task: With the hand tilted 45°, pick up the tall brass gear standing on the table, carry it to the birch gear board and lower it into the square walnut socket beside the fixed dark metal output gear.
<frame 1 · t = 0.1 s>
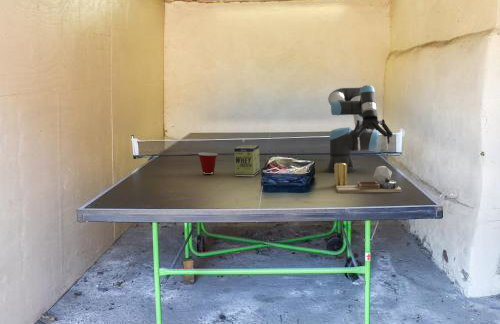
hand: (373, 149, 266), 15 cm above the table, tool tilted 35°, fingers open, 13 cm apart
output gear: (387, 189, 245), resting on gear board
protein box: (247, 174, 295), on the table
gear board: (368, 190, 246), on the table
brass gear: (340, 186, 256), on the table
pale rock: (382, 182, 263), on the table
plastic cup: (208, 174, 300), on the table
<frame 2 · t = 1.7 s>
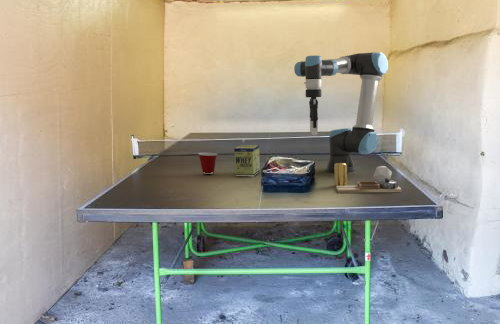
hand: (313, 133, 258), 25 cm above the table, tool pointing down, fingers open, 13 cm apart
nothing on the table moved.
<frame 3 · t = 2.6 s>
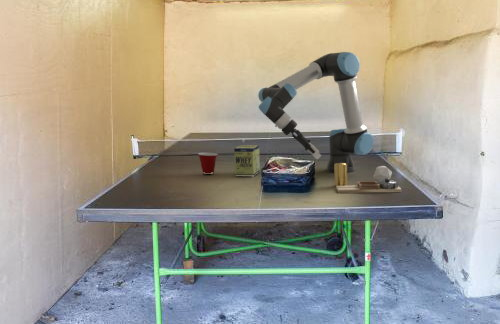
hand: (318, 155, 255), 15 cm above the table, tool tilted 45°, fingers open, 13 cm apart
nothing on the table moved.
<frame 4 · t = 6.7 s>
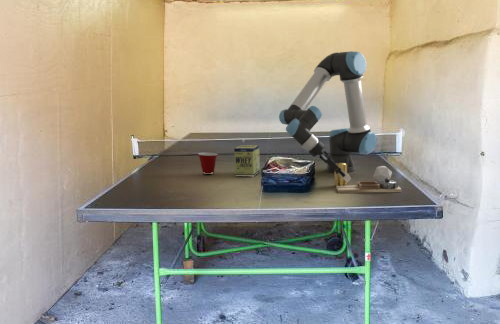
hand: (348, 179, 255), 3 cm above the table, tool tilted 45°, fingers closed on brass gear, 6 cm apart
brass gear: (340, 186, 256), on the table, touching gripper
everything else where it was.
when the fingers open (7 cm above the table, at t = 10.8 s): brass gear drops 2 cm, resting on gear board.
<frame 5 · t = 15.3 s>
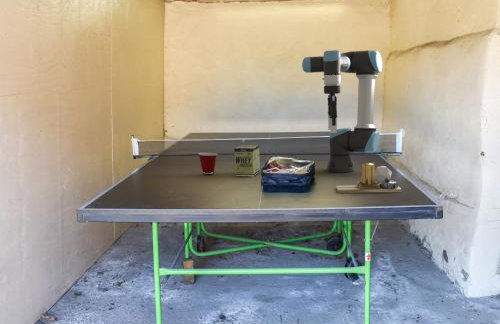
hand: (332, 131, 249), 27 cm above the table, tool pointing down, fingers open, 13 cm apart
brass gear: (368, 187, 246), point 1 cm above the table, touching gear board
everything else where it was.
at the end: brass gear 0.1 cm off-centre on the gear board, point 1.2 cm above the gear board's base; brass gear tilted 1°; the gripper is holding nothing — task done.
